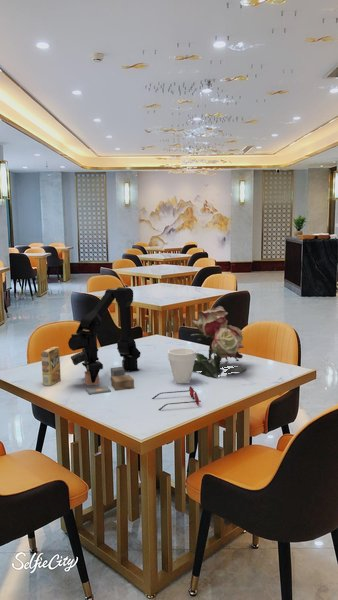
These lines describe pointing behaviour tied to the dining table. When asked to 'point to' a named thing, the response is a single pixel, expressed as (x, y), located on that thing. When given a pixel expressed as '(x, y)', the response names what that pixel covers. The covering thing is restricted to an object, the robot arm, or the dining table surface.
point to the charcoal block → (117, 371)
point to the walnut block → (122, 382)
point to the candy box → (50, 366)
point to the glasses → (184, 391)
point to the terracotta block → (88, 379)
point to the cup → (182, 363)
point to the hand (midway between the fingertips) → (91, 380)
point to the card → (98, 390)
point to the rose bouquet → (218, 342)
